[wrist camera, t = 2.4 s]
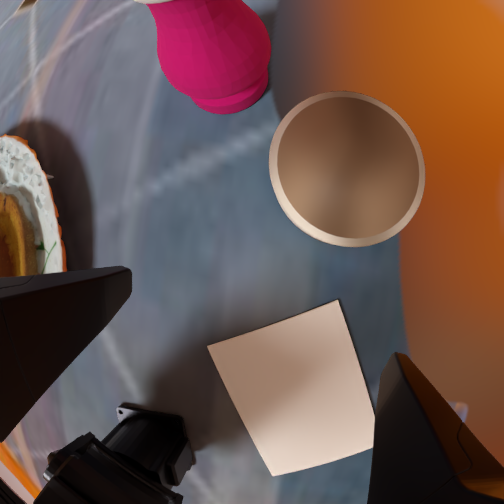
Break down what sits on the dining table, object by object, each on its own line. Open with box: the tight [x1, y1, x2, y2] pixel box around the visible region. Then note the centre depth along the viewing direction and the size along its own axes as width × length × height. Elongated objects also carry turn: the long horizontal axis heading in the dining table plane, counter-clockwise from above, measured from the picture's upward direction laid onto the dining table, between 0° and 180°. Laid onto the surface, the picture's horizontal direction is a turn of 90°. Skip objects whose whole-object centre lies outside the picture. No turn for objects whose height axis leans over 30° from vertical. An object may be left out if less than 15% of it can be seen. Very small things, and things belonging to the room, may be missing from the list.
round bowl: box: [269, 91, 425, 247], centre depth 19 cm, size 10×10×3 cm
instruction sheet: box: [207, 300, 375, 476], centre depth 21 cm, size 10×14×1 cm
